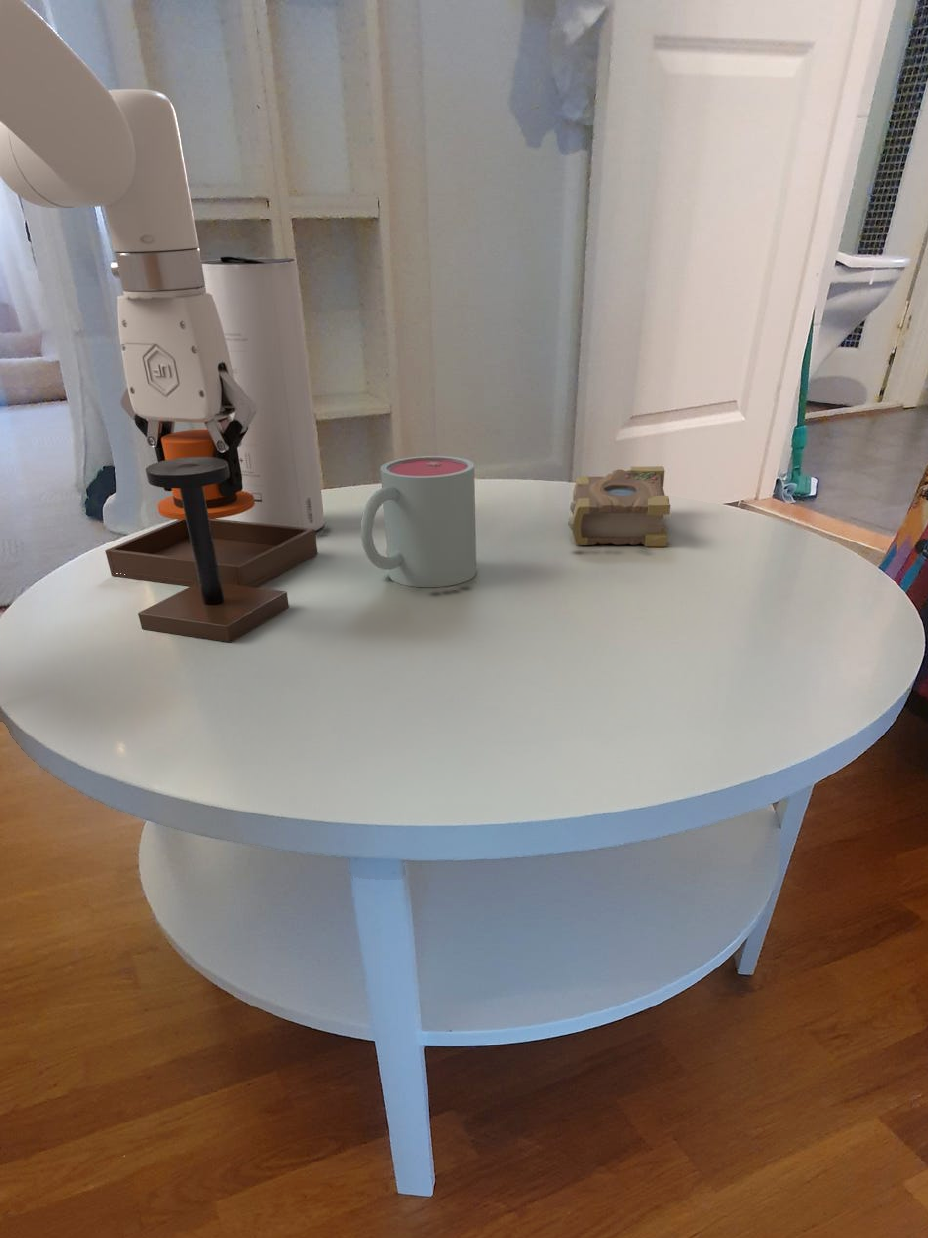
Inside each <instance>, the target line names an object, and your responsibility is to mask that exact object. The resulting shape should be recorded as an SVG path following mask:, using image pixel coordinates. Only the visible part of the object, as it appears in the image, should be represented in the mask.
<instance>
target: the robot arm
mask: <svg viewBox="0 0 928 1238" xmlns="http://www.w3.org/2000/svg"><path fill="white" fill-rule="evenodd" d="M179 128H180V127H179V123H178V119H177V114H176V111H175V108H174V106H173V104H172V101H170V99H169V98H168V97H167V96H166V95H165V94H164V93H161V92H160V91H158V90H152V89H146V88H145V89H144V88H117V89H116V88H115V89H108V88H107V87H106V86H105V84H104V83H103V82H102V80H101V79H100V78H99V77H98V76H97V75H96V73H95V72H94V71H93V70H92V69H91V68H90V67H89V66H88V65H87V64H86V63H85V61H84V60H83V59H82V58H81V57H80V56H79V55H78V54H77V53H76V52H75V50H73V48H72V47H71V46H70V45H69V44H68V43H67V42H66V41H65V40H64V39H63V38H62V36H60V34H59V33H58V32H57V31H56V30H55V29H54V28H53V27H52V26H51V25H50V24H49V23H48V22H47V21H46V20H45V19H44V18H43V17H42V16H41V15H40V13H38V12H37V11H36V10H35V9H34V8H33V7H32V6H31V5H30V4H29V3H27V2H26V0H0V178H1V180H2V181H3V183H5V185H6V186H7V187H9V189H10V190H11V191H12V192H13V193H15V194H16V195H17V196H18V197H20V198H21V199H23V200H25V201H27V202H28V203H31V204H33V205H35V206H39V207H42V208H46V209H47V208H48V209H73V208H83V207H84V208H98V207H104V212H105V215H106V220H107V225H108V230H109V234H110V238H111V243H112V248H113V252H114V257H115V260H112V262H111V263H110V271H111V273H112V275H113V276H114V277H115V278H116V279H119V280H120V284H121V289H122V293H123V295H118V296H117V298H116V299H117V301H116V307H117V308H116V309H117V325H118V326H117V328H118V339H119V344H120V352H121V358H122V364H123V365H122V366H123V371H124V377H125V381H126V389H125V390H124V392H123V394H122V396H121V399H120V406H121V407H122V409H123V410H124V411H125V412H126V414H127V415H128V416H129V418H131V420H133V421H134V424H135V426H136V427H137V428H138V430H139V431H140V432H141V433H142V434H143V435H144V436H145V438H146V442H147V444H148V446H149V447H150V448H152V449H154V452H155V456H156V461H157V462H161V461H165V456H164V451H163V446H162V442H161V438H162V437H163V436H165V435H168V434H171V433H175V426H176V422H178V423H179V422H180V423H196V424H197V423H200V424H201V423H203V424H204V426H205V427H206V430H208V432H209V434H210V436H211V438H212V440H213V442H214V444H215V446H216V448H217V449H218V451H217V452H214V453H213V458H219V459H223V460H225V461H227V463H228V467H229V472H230V476H229V478H228V479H226V480H224V481H222V482H219V483H218V486H219V491H220V494H221V495H222V496H230V495H232V494H235V493H237V492H239V491H241V490H242V488H243V485H242V474H241V468H240V462H239V456H238V451H237V447H240V446H241V444H242V439H243V437H244V435H245V434H246V432H247V430H248V426H249V424H250V423H251V421H252V419H253V418H254V416H255V414H256V412H257V407H256V405H255V403H254V402H253V401H252V400H251V399H250V398H249V397H248V396H247V394H246V393H245V392H244V391H243V390H242V389H241V388H240V386H239V385H238V384H237V383H236V382H235V381H234V375H233V370H232V365H231V360H230V356H229V351H228V347H227V343H226V339H225V335H224V331H223V328H222V324H221V321H220V318H219V314H218V311H217V308H216V305H215V302H214V299H213V297H212V294H211V293H206V287H205V280H204V274H203V269H202V263H201V261H202V257H201V251H200V245H199V240H198V234H197V233H198V232H197V229H196V222H195V217H194V210H193V205H192V199H191V193H190V187H189V182H188V176H187V170H186V163H185V158H184V154H183V153H184V151H183V146H182V140H181V136H180V135H181V134H180V129H179ZM235 411H236V413H235V415H234V419H233V420H232V419H231V417H230V415H229V414H232V413H233V412H235ZM223 432H224V433H223ZM163 490H164V491H165V492H172V488H163Z"/></svg>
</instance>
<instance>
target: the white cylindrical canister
mask: <svg viewBox="0 0 928 1238" xmlns="http://www.w3.org/2000/svg"><path fill="white" fill-rule="evenodd" d="M219 258H220V259H208V260H201V263H202V269H203V274H204V280H205V287H206V293H211V294H212V297H213V299H214V302H215V305H216V308H217V311H218V314H219V318H220V321H221V324H222V328H223V331H224V335H225V339H226V343H227V347H228V351H229V356H230V360H231V365H232V370H233V375H234V381H235V382H236V383H237V384H238V385H239V386H240V388H241V389H242V390H243V391H244V392H245V393H246V394H247V396H248V397H249V398H250V399H251V400H252V401H253V402H254V403H255V405H256V407H257V412H256V414H255V416H254V418H253V419H252V421H251V423H250V424H249V426H248V430H247V432H246V434H245V435H244V437H243V439H242V444H241V446H240V447H237V451H238V456H239V462H240V468H241V474H242V485H243V488H242V490H241V491H244V492H248V493H250V494H252V495H253V497H254V502H255V504H254V506H253V507H252V508H251V509H249V510H247V511H245V512H242V513H239V514H236V515H237V521H241V522H251V523H261V524H271V525H280V526H290V527H300V528H309V529H314V530H315V532H318V531H320V530H321V529H322V528H323V527H324V525H325V513H324V505H323V504H324V503H323V496H322V494H323V493H322V485H321V477H320V469H319V468H320V467H319V458H318V449H317V438H316V429H315V422H314V420H315V419H314V412H313V403H312V392H311V384H310V375H309V366H308V357H307V356H308V355H307V348H306V347H307V346H306V338H305V337H306V336H305V329H304V320H303V310H302V301H301V294H300V293H301V291H300V284H299V275H298V274H299V273H298V267H297V259H295V258H291V257H290V258H289V257H288V258H283V257H282V258H279V257H249V258H248V257H247V258H246V257H240V256H234V255H221V256H220V257H219ZM235 413H236V411H235V412H233V413H232V414H229V415H230V417H231V419H232V420H233V419H234V415H235Z"/></svg>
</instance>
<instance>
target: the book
mask: <svg viewBox="0 0 928 1238" xmlns="http://www.w3.org/2000/svg"><path fill="white" fill-rule="evenodd" d="M664 480H665V468H664V466H663V465H661V466H659V465H658V466H657V465H656V466H630V470H624V469H616V470H613V471H612V473H608V474H606V475H605V476H589V475H582V476H579V475H578V477H577V479H576V482H575V484H574V488H573V492H572V493H573V494H572V502H570V506H569V510H570V512H571V513H572V516H571V517H570V518H569V519H568V521H567V525H568V527H569V529H570V530H571V531H572V534H573V537H574V541H575V544H576V546H587V545H588V546H589V545H592V546H593V545H596V544H599V545H607V544H612V545H627V544H629V545H640V544H641V545H644V547H667V544H668V533H667V529H666V527H665V526H663V523H664V516H670V515H671V504H670V497H669V495H665V491H664V482H665V481H664Z"/></svg>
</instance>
